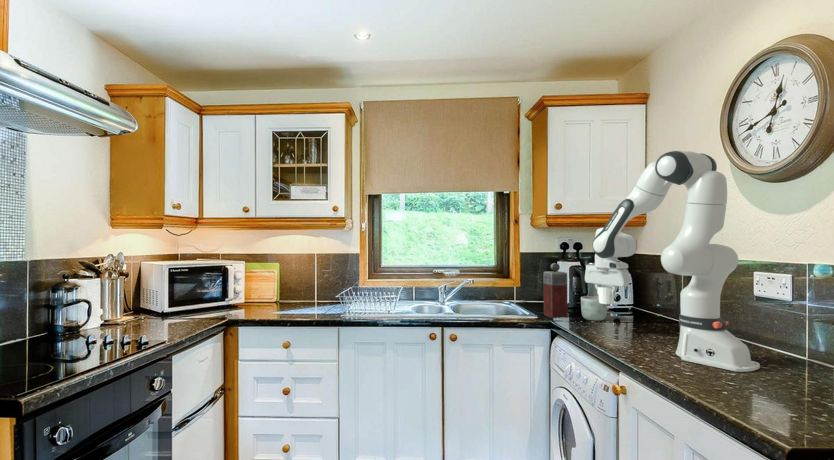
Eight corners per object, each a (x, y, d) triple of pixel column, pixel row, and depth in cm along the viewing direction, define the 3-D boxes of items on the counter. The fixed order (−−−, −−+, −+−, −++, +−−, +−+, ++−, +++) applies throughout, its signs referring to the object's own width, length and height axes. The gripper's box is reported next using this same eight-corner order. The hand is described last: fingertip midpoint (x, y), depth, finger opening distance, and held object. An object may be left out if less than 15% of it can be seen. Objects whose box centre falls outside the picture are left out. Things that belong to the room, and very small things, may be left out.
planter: (609, 318, 200) (609, 297, 200) (605, 322, 190) (604, 300, 190) (584, 316, 207) (583, 295, 207) (578, 319, 197) (578, 298, 197)
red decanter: (556, 313, 214) (556, 262, 215) (567, 317, 203) (567, 263, 204) (541, 313, 213) (541, 262, 213) (551, 317, 201) (551, 263, 202)
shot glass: (617, 304, 167) (617, 288, 168) (601, 304, 168) (601, 288, 168) (610, 302, 174) (610, 286, 175) (595, 301, 175) (595, 286, 175)
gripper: (581, 262, 180) (581, 292, 179) (621, 265, 161) (622, 298, 161) (590, 262, 182) (591, 291, 182) (631, 264, 164) (632, 297, 164)
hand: (606, 295), depth 171 cm, fingers closed on shot glass, 5 cm apart
